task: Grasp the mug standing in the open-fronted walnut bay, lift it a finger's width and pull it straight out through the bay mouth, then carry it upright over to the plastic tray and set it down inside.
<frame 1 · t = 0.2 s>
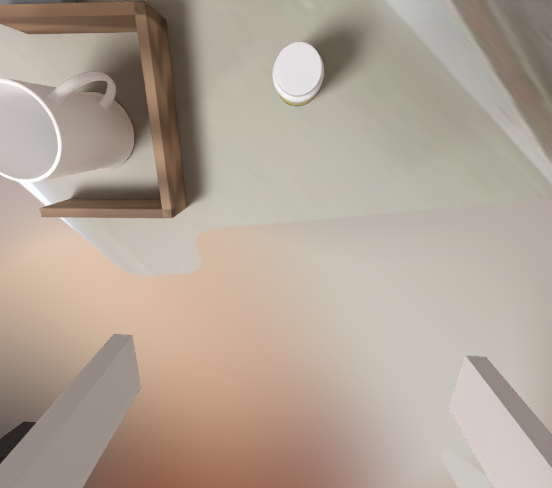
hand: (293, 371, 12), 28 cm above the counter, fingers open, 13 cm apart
bay: (108, 123, 36), on the counter
supplement bottle: (297, 83, 33), on the counter
mug: (109, 123, 36), on the counter
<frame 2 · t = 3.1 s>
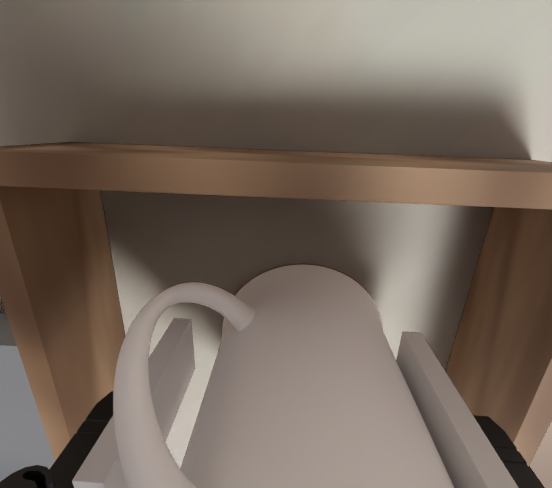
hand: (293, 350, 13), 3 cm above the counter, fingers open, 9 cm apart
bay: (287, 312, 16), on the counter
mug: (285, 310, 16), on the counter, touching gripper
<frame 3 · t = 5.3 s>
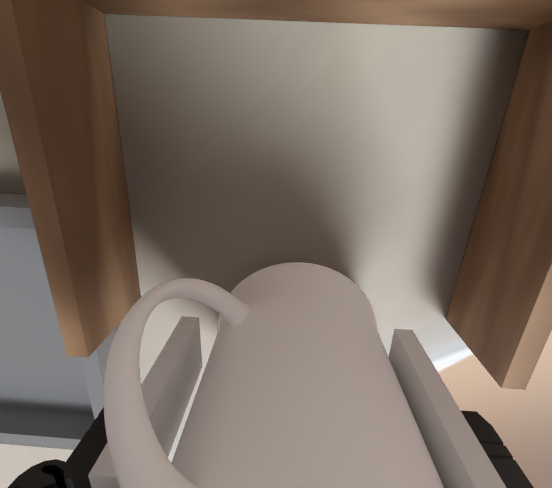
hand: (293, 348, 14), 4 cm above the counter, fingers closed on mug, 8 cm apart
bay: (299, 190, 15), on the counter
mug: (280, 308, 16), point 1 cm above the counter, touching gripper
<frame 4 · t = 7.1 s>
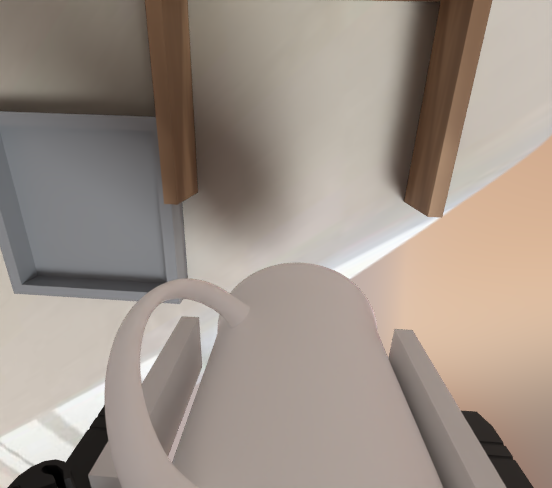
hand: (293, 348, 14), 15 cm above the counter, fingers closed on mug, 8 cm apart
bay: (304, 109, 24), on the counter
tray: (97, 209, 28), on the counter
mug: (280, 308, 16), point 12 cm above the counter, touching gripper
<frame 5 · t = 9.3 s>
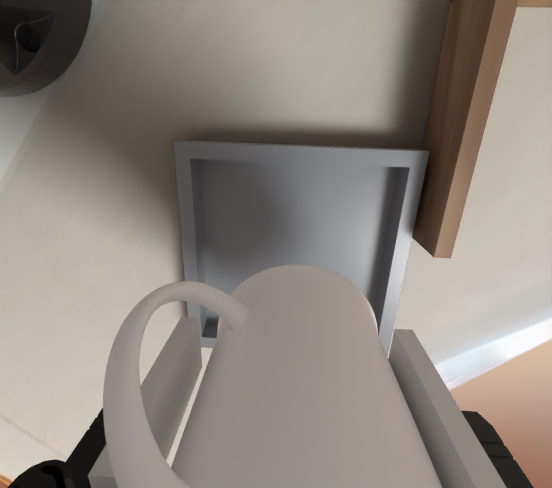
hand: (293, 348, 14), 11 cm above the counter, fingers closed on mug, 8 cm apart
tray: (292, 250, 24), on the counter
mug: (280, 310, 16), point 8 cm above the counter, touching gripper
when the fingers open (4 cm above the counter, at t = 11.0 s): mug stays where it is, resting on tray.
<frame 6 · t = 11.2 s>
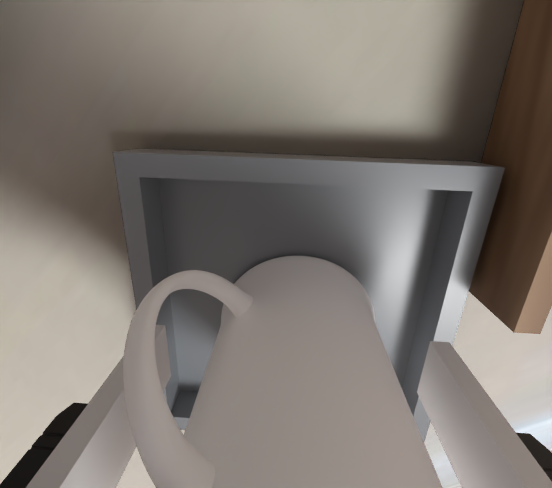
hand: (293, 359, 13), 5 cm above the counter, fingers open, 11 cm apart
tray: (293, 298, 18), on the counter
mug: (281, 299, 17), point 1 cm above the counter, touching tray
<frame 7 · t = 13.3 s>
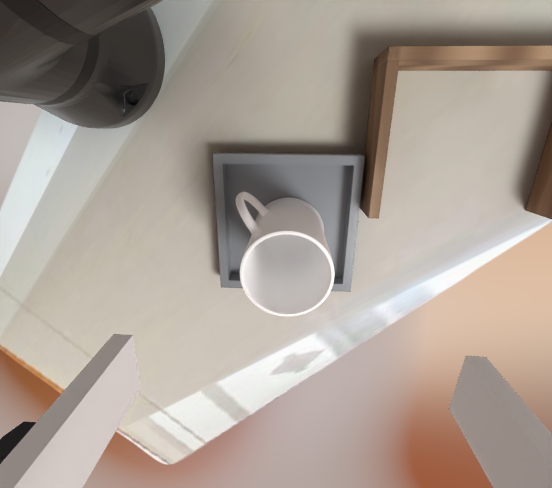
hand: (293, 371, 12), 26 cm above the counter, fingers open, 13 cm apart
bay: (458, 145, 33), on the counter
tray: (286, 221, 37), on the counter
mug: (281, 220, 37), resting on tray
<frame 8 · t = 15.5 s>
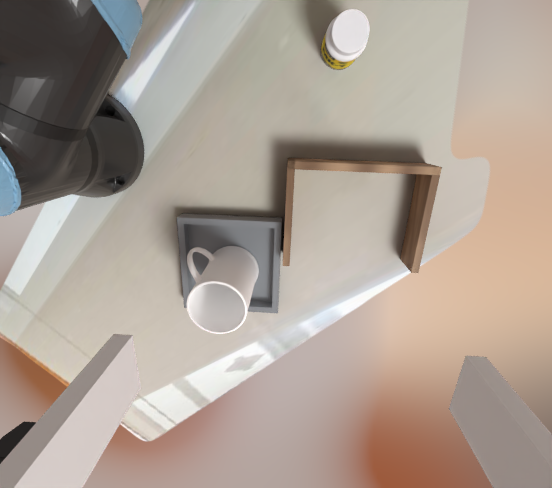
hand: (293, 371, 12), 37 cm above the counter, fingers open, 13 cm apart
bay: (349, 214, 47), on the counter
tray: (232, 261, 51), on the counter
supplement bottle: (338, 50, 40), on the counter
mug: (228, 261, 51), resting on tray
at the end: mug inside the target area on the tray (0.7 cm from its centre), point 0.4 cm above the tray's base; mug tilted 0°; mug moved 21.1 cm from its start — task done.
